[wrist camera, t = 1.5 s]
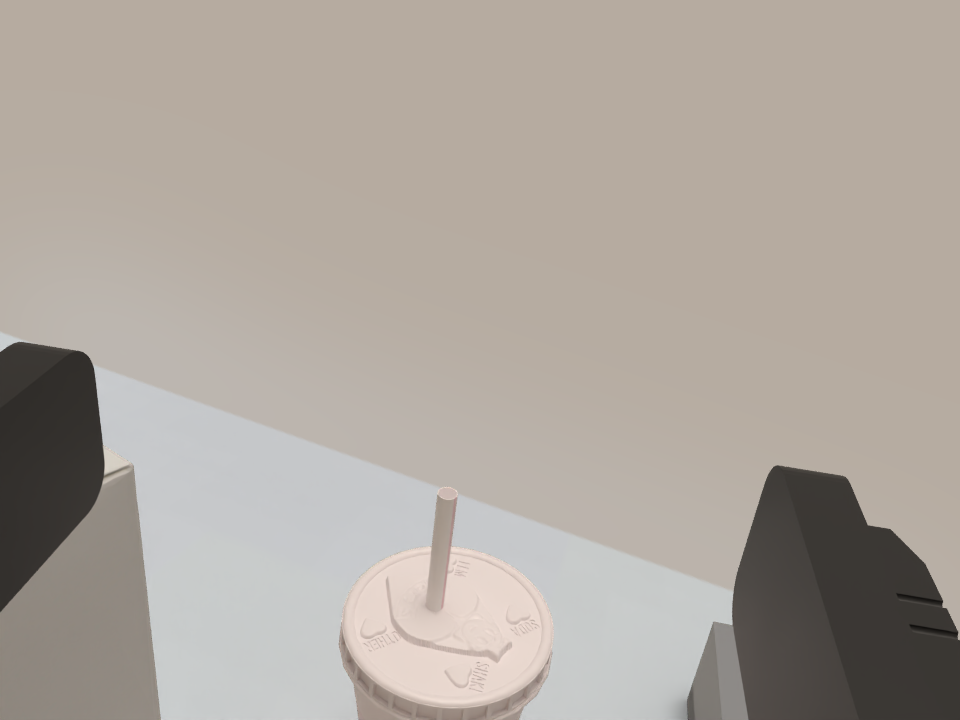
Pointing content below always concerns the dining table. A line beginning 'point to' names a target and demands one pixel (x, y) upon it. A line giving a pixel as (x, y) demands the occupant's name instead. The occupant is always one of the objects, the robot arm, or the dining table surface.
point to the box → (718, 680)
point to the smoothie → (445, 633)
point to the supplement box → (84, 620)
